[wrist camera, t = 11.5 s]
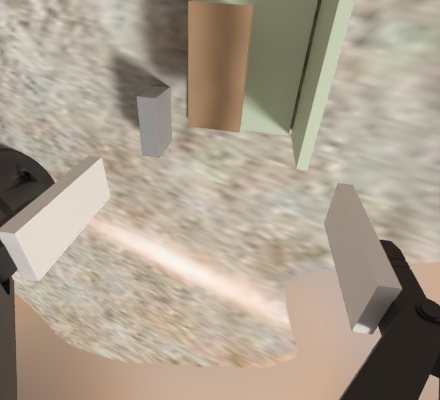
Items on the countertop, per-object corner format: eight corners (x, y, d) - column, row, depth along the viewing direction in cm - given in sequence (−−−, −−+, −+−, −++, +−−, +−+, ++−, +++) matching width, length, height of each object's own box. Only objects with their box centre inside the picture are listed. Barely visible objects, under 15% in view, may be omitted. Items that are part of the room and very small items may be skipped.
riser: (157, 139, 44) (142, 155, 39) (153, 85, 39) (136, 96, 34) (171, 140, 43) (159, 157, 38) (169, 87, 39) (155, 98, 34)
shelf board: (193, 119, 35) (188, 126, 33) (194, 1, 28) (188, 0, 26) (240, 124, 34) (238, 132, 32) (254, 6, 27) (252, 5, 25)
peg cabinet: (192, 121, 41) (170, 152, 32) (194, -27, 31) (162, -41, 22) (299, 134, 40) (307, 170, 31) (335, -16, 30) (362, -27, 21)
